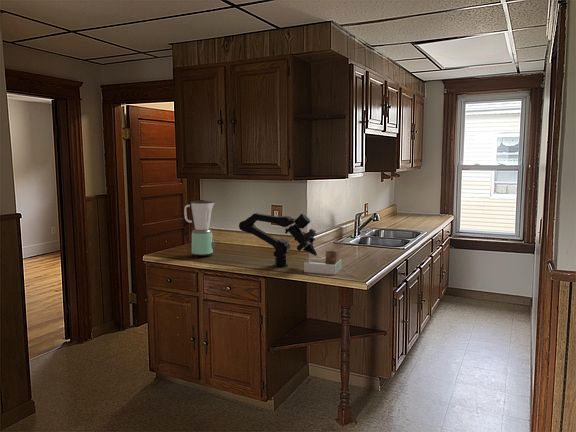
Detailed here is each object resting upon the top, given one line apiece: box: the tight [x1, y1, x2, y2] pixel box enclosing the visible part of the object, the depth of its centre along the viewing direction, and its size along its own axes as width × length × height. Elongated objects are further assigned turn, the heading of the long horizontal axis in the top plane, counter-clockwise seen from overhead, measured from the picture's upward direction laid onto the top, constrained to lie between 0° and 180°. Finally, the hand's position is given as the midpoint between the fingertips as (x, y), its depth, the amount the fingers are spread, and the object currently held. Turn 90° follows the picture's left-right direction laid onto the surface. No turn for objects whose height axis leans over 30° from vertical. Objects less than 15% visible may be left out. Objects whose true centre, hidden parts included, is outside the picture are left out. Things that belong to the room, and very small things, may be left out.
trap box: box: [303, 257, 342, 275], centre depth 266 cm, size 17×15×5 cm
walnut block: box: [325, 248, 340, 265], centre depth 267 cm, size 6×6×8 cm
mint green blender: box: [183, 199, 216, 258], centre depth 302 cm, size 19×13×35 cm
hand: (316, 255), depth 269 cm, fingers closed
